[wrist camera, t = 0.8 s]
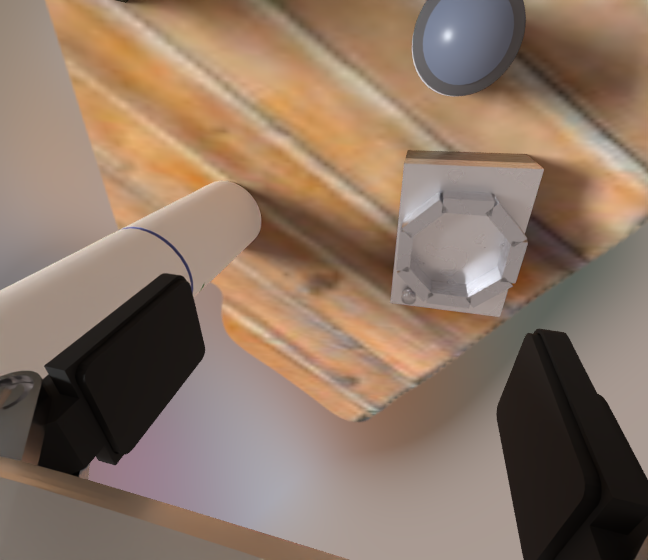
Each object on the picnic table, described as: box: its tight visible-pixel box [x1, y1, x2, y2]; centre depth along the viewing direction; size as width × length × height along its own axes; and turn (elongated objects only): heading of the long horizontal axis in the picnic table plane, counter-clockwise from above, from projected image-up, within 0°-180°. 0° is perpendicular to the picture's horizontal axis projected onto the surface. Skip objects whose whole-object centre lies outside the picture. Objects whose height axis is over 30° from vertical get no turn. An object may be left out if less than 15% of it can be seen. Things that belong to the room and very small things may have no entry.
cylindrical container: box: [0, 181, 262, 379], centre depth 26 cm, size 7×7×25 cm
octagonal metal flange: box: [390, 150, 544, 317], centre depth 28 cm, size 12×9×7 cm
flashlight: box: [412, 0, 526, 96], centre depth 21 cm, size 5×5×10 cm
